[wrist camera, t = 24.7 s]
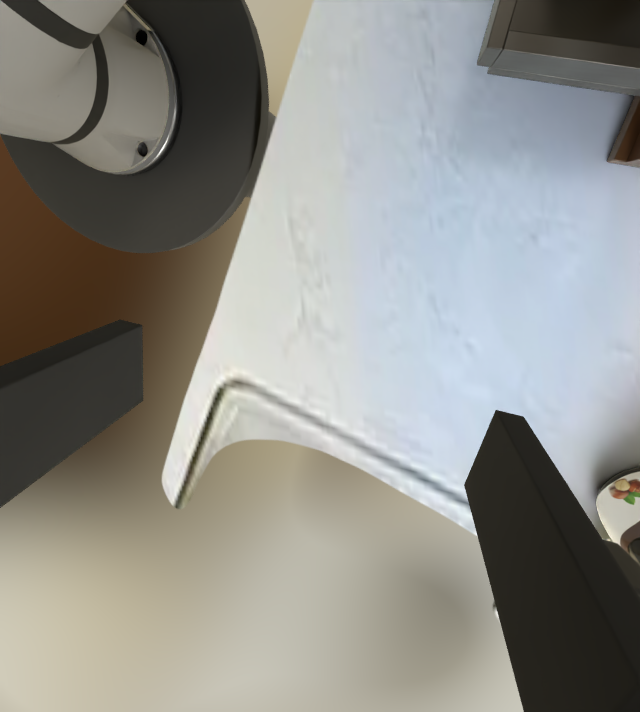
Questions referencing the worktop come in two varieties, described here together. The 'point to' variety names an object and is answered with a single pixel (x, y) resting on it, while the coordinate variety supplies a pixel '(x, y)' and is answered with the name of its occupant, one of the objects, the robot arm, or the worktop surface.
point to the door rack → (572, 52)
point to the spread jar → (622, 510)
